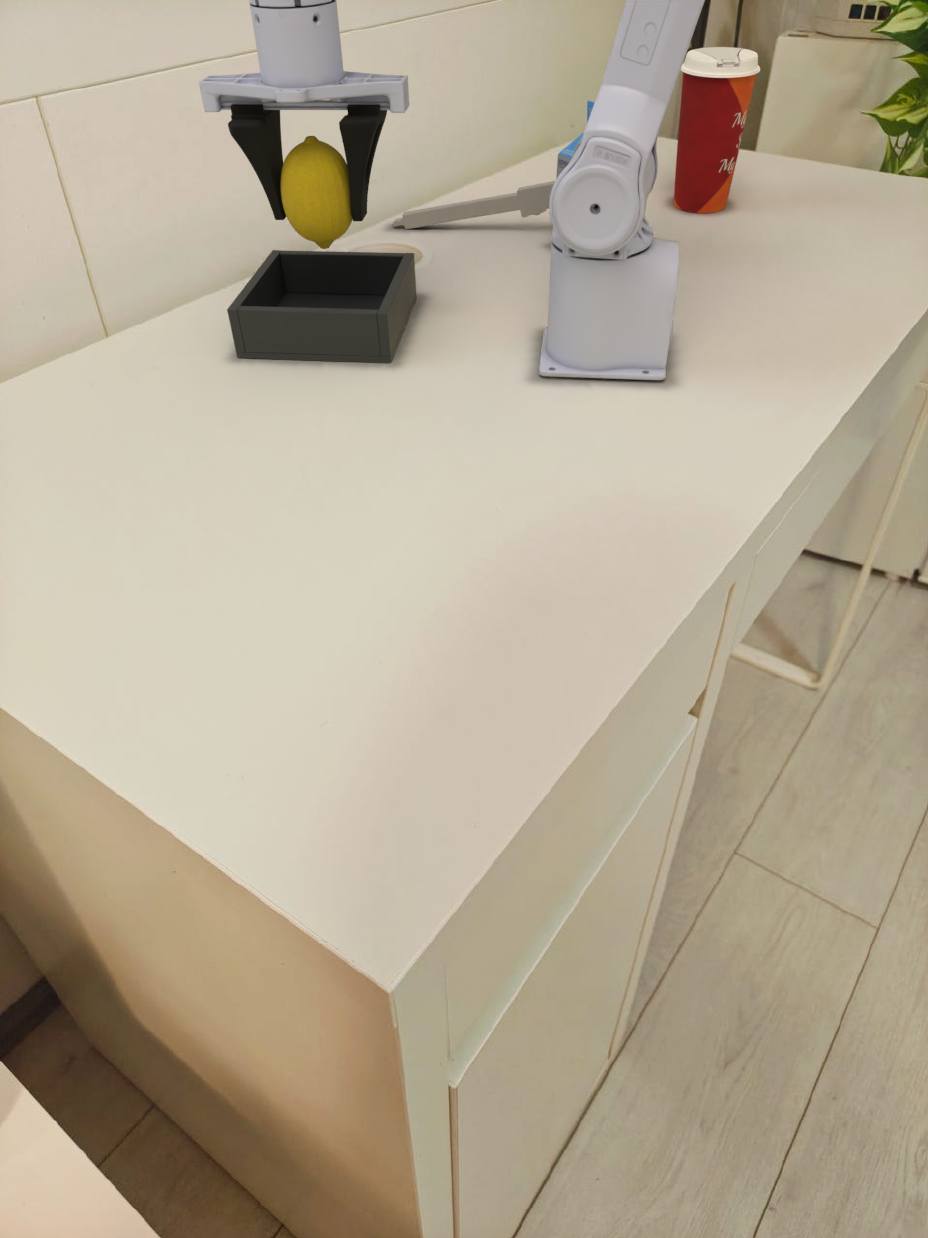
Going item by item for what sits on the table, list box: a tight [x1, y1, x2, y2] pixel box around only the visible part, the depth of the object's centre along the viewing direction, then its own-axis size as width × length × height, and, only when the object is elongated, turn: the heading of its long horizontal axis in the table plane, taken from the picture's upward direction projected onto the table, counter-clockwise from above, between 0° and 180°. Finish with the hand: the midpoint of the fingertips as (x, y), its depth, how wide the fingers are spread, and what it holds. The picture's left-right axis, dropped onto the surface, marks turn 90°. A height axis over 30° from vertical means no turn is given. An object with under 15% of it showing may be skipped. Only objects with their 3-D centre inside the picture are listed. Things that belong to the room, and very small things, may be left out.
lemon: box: [281, 135, 353, 250], centre depth 66 cm, size 6×6×8 cm
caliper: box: [391, 180, 556, 230], centre depth 89 cm, size 20×1×6 cm, turn 81°
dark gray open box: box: [226, 249, 418, 364], centre depth 73 cm, size 13×13×4 cm
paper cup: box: [673, 46, 761, 214], centre depth 90 cm, size 8×8×14 cm
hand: (320, 216), depth 67 cm, fingers closed on lemon, 5 cm apart
